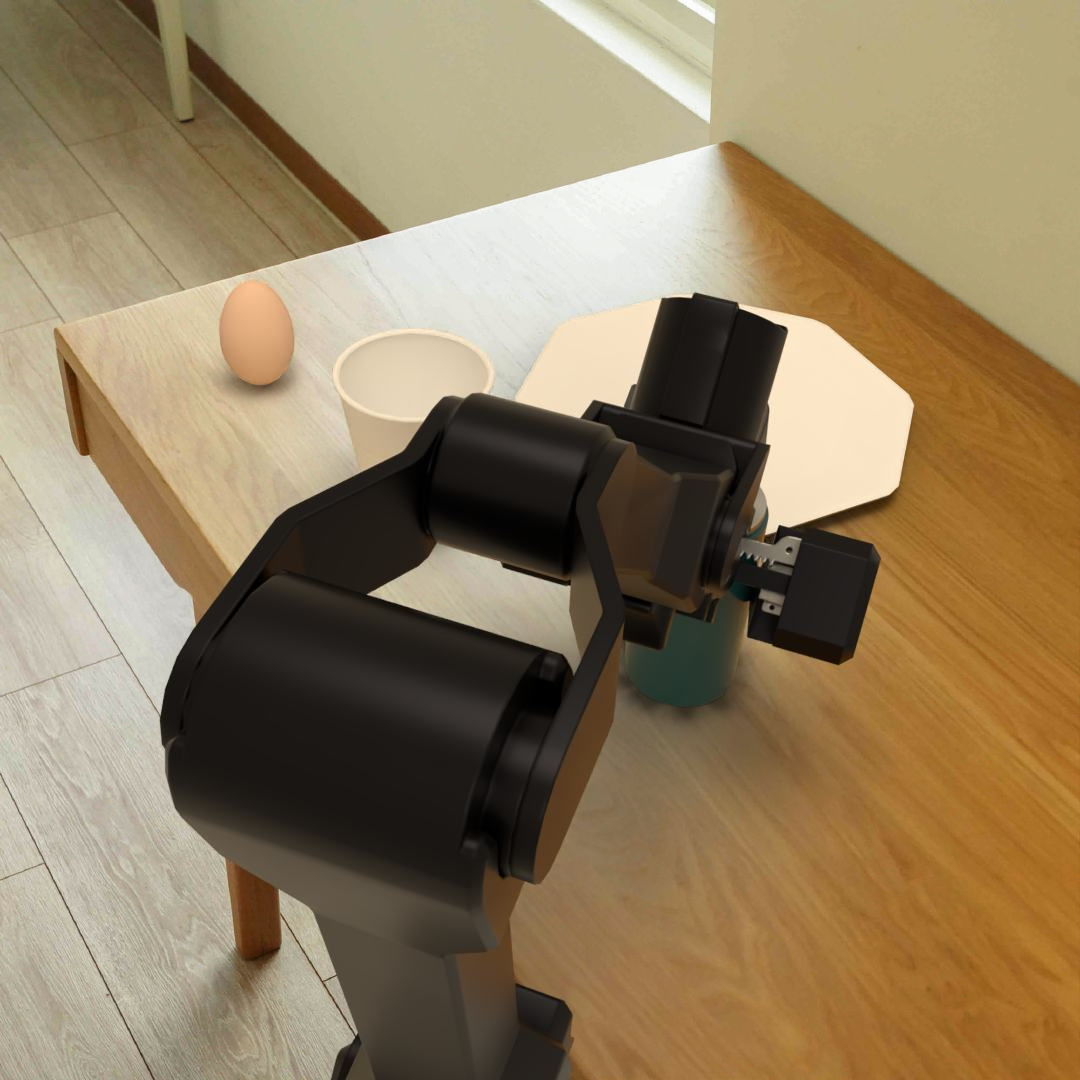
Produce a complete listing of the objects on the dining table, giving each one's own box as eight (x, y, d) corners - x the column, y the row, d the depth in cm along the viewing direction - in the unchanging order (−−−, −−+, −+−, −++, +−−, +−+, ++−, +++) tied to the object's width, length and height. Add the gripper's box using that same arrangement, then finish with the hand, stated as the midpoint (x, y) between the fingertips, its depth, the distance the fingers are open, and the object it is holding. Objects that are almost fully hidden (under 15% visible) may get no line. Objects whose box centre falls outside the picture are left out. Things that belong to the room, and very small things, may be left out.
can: (751, 697, 78) (790, 529, 70) (643, 715, 77) (669, 546, 68) (712, 618, 83) (744, 452, 74) (610, 634, 82) (630, 466, 73)
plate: (983, 477, 95) (989, 460, 94) (648, 588, 85) (650, 571, 84) (763, 287, 113) (766, 271, 112) (463, 359, 103) (464, 343, 102)
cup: (330, 555, 86) (319, 415, 78) (351, 458, 93) (343, 322, 86) (486, 564, 86) (490, 425, 78) (494, 467, 93) (499, 332, 86)
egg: (229, 405, 97) (217, 307, 91) (221, 365, 101) (208, 268, 95) (303, 396, 98) (295, 298, 93) (291, 356, 102) (283, 260, 96)
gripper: (920, 425, 59) (902, 475, 75) (525, 328, 64) (584, 394, 79) (852, 668, 59) (847, 668, 74) (459, 554, 63) (531, 576, 79)
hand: (699, 569), depth 77 cm, fingers closed on can, 7 cm apart
